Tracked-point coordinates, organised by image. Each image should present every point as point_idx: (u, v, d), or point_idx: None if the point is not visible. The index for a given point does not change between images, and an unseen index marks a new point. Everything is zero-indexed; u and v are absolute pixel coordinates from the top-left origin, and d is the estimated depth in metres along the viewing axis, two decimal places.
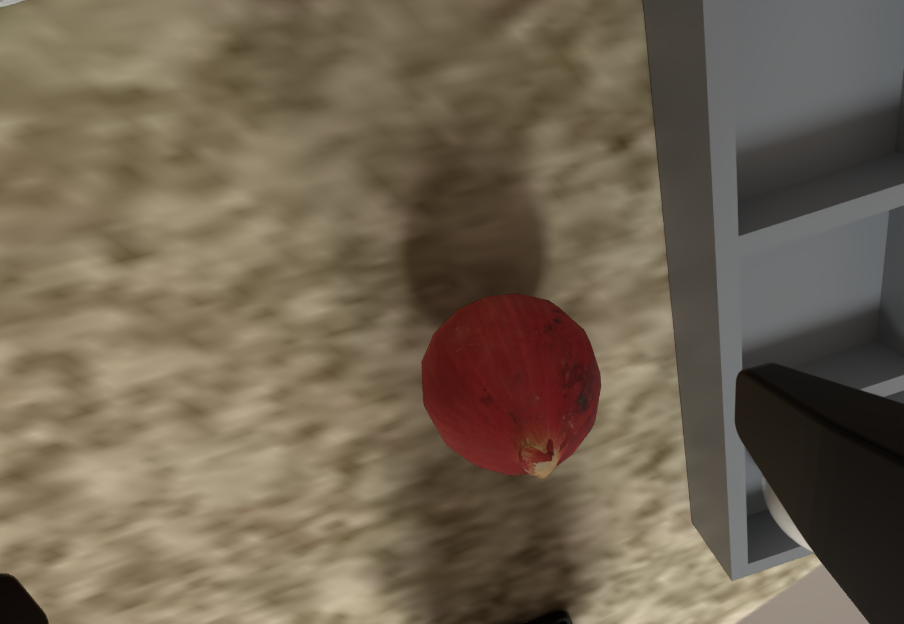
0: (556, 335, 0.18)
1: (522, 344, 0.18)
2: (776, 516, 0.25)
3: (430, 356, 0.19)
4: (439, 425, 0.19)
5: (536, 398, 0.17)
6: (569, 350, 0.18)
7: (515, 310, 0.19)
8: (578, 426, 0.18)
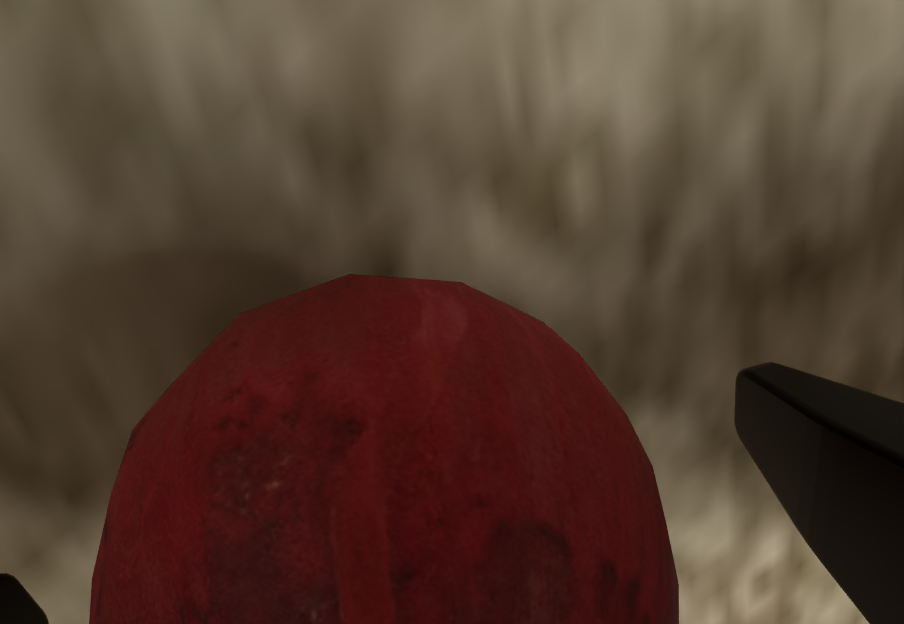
0: (107, 609, 0.05)
1: None
2: None
3: None
4: None
5: None
6: (141, 610, 0.04)
7: None
8: None
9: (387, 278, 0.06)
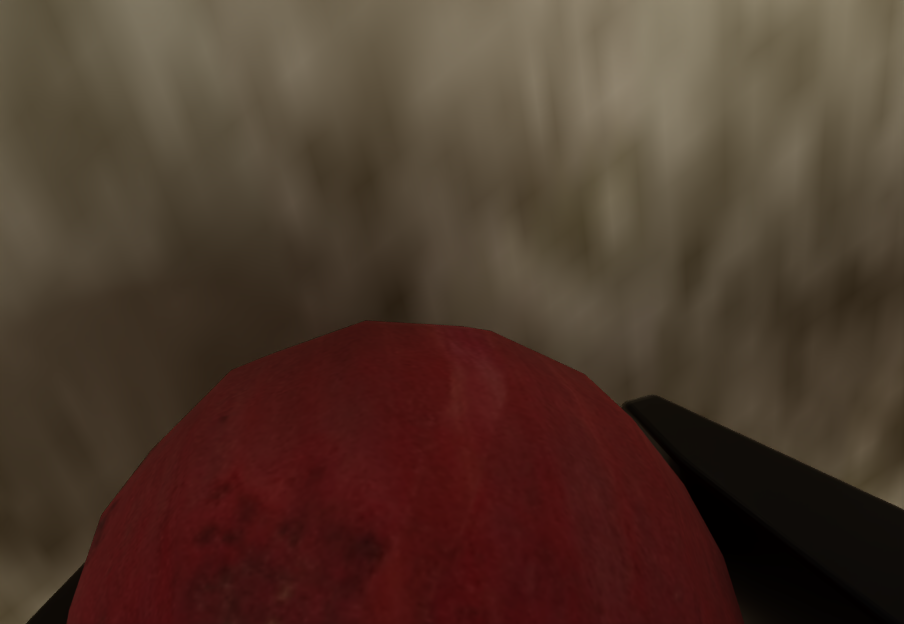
0: None
1: None
2: None
3: None
4: None
5: None
6: None
7: None
8: None
9: (405, 328, 0.05)
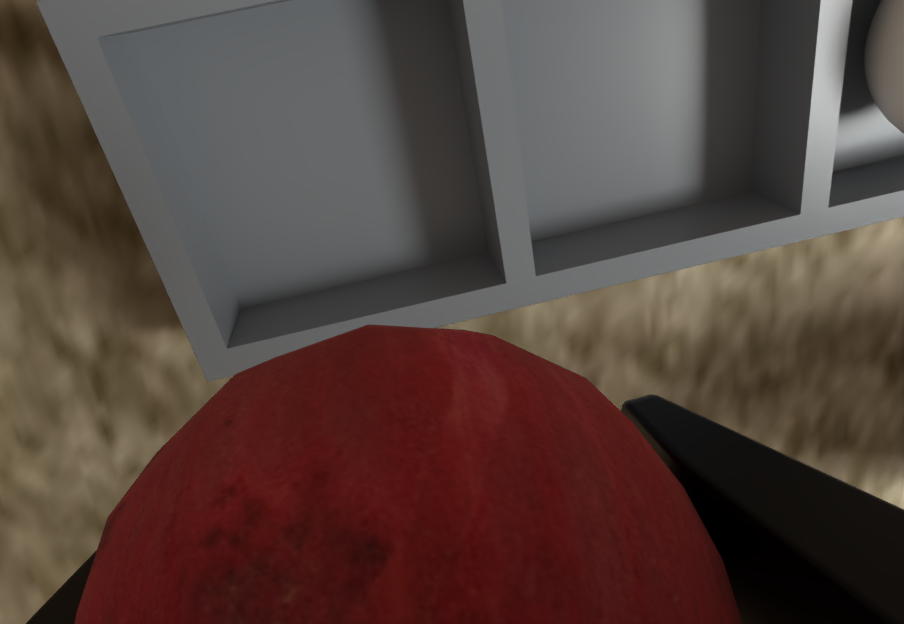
0: None
1: None
2: None
3: None
4: None
5: None
6: None
7: None
8: None
9: (407, 333, 0.05)
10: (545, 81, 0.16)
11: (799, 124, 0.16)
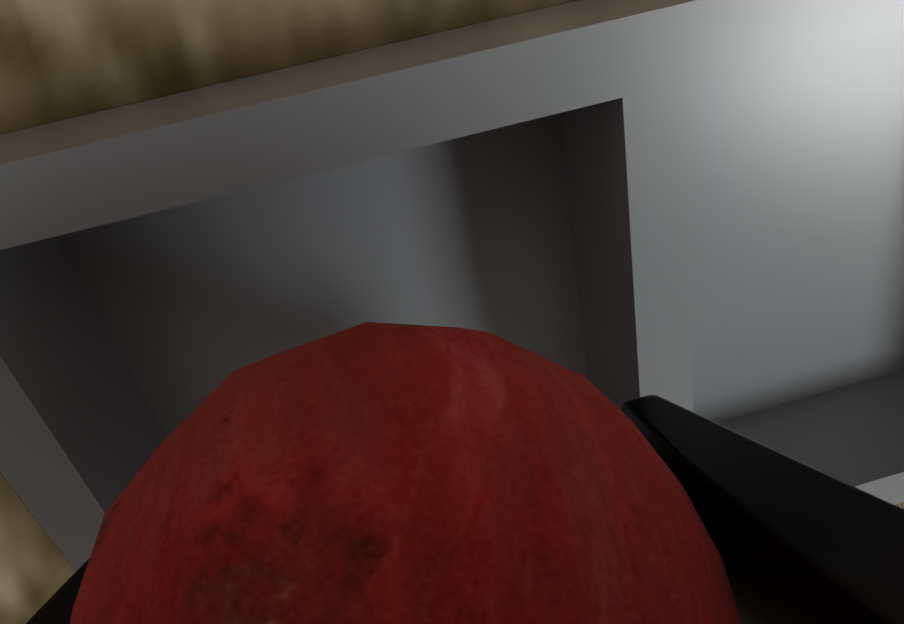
0: None
1: None
2: None
3: None
4: None
5: None
6: None
7: None
8: None
9: (405, 330, 0.05)
10: (700, 229, 0.10)
11: None
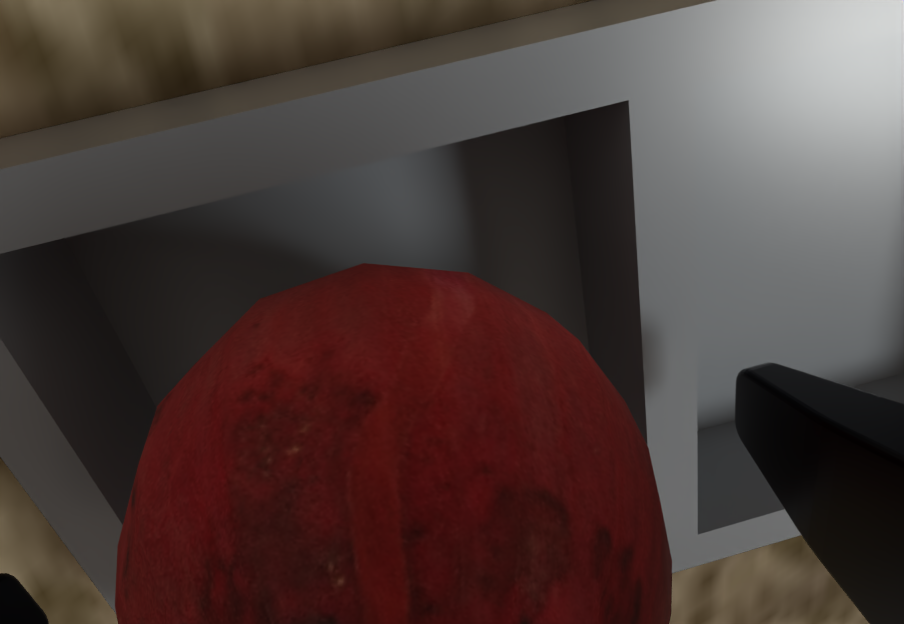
0: (135, 567, 0.05)
1: None
2: None
3: None
4: None
5: None
6: (168, 564, 0.05)
7: None
8: None
9: (398, 267, 0.07)
10: (705, 231, 0.10)
11: None
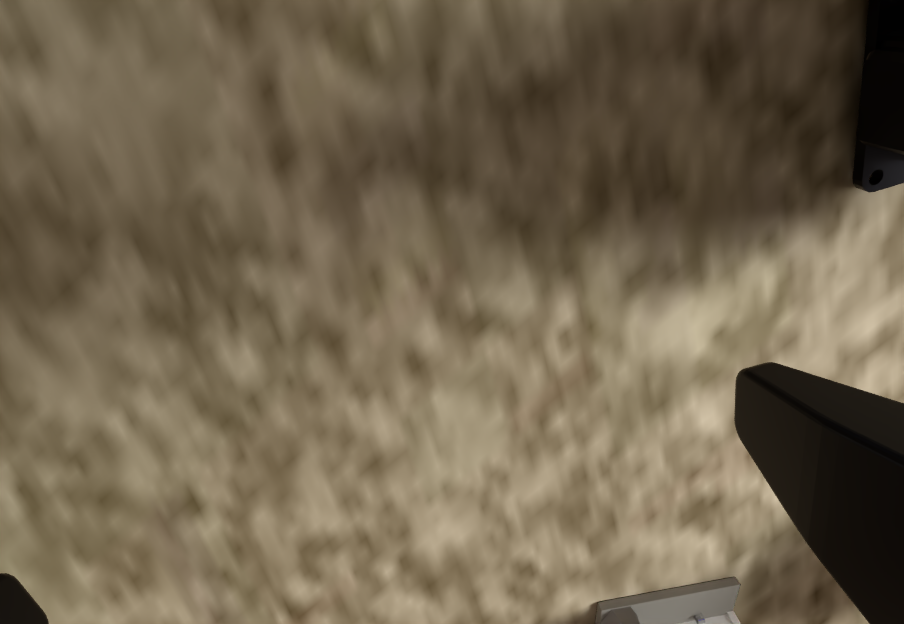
0: None
1: None
2: None
3: None
4: None
5: None
6: None
7: None
8: None
9: None
10: None
11: None
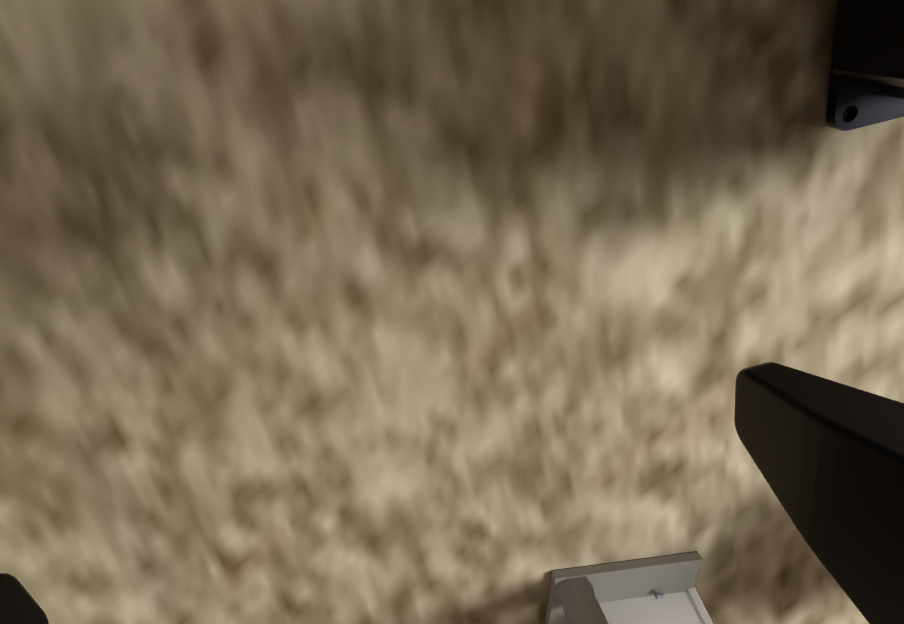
0: None
1: None
2: None
3: None
4: None
5: None
6: None
7: None
8: None
9: None
10: None
11: None
